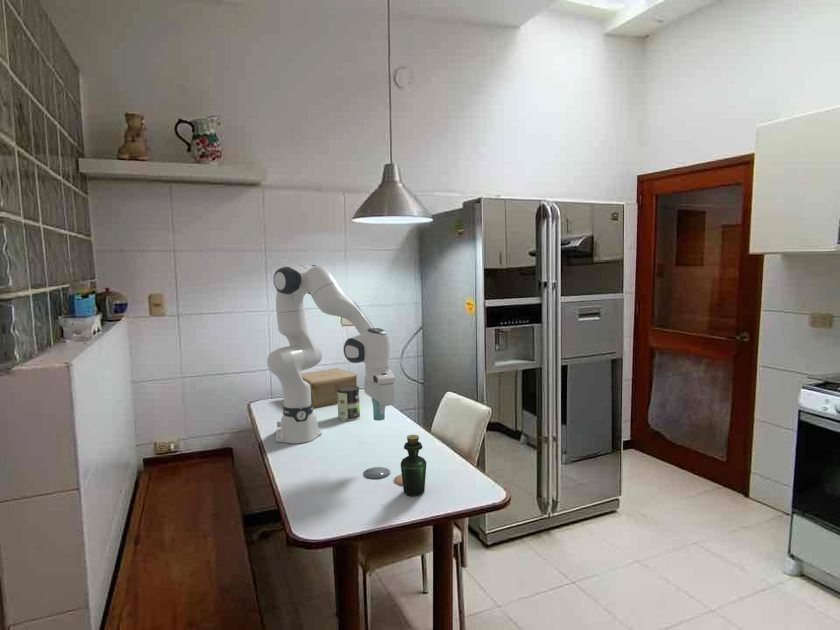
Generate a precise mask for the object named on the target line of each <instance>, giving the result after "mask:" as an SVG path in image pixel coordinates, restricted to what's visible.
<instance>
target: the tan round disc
mask: <svg viewBox="0 0 840 630" xmlns="http://www.w3.org/2000/svg"><path fill="white" fill-rule="evenodd" d="M393 481H394V483H395V484H396V485H398V486H401V487H403V481H402V473H400V474H399V475H396V476H395V477H394V480H393Z"/></svg>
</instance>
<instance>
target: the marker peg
mask: <svg viewBox="0 0 840 630" xmlns="http://www.w3.org/2000/svg"><path fill="white" fill-rule="evenodd" d="M379 408H380V405H379V402H378V401H376V400H374V399H373V404H372V409H373V411H372V413H373V415H372V416H373V420H374V421H378V422H379V421H384V420H385V418H386V417H385V416H386V415H385V413H386V412H385V413H384V414H380V413H379Z"/></svg>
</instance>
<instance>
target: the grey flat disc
mask: <svg viewBox="0 0 840 630" xmlns="http://www.w3.org/2000/svg"><path fill="white" fill-rule="evenodd" d="M390 475H391V470H390V469H389V468H387V467H383V466H382V467H381V466H375V467H370V468H368V469H366V470H364V472H363V476H364V478H367V479H371V480H378V479H379V480H381V479H385V478H387V477H388V476H390Z"/></svg>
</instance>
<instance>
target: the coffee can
mask: <svg viewBox="0 0 840 630" xmlns="http://www.w3.org/2000/svg"><path fill="white" fill-rule="evenodd" d="M337 400H338V403H337V419H338V420H339V421H342V422H349V421H350V422H353V421H357V420H359V419H360V418H361V409H360V406H361V405H360V387H359V386H358V385H357V386H342V387H338V388H337Z"/></svg>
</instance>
